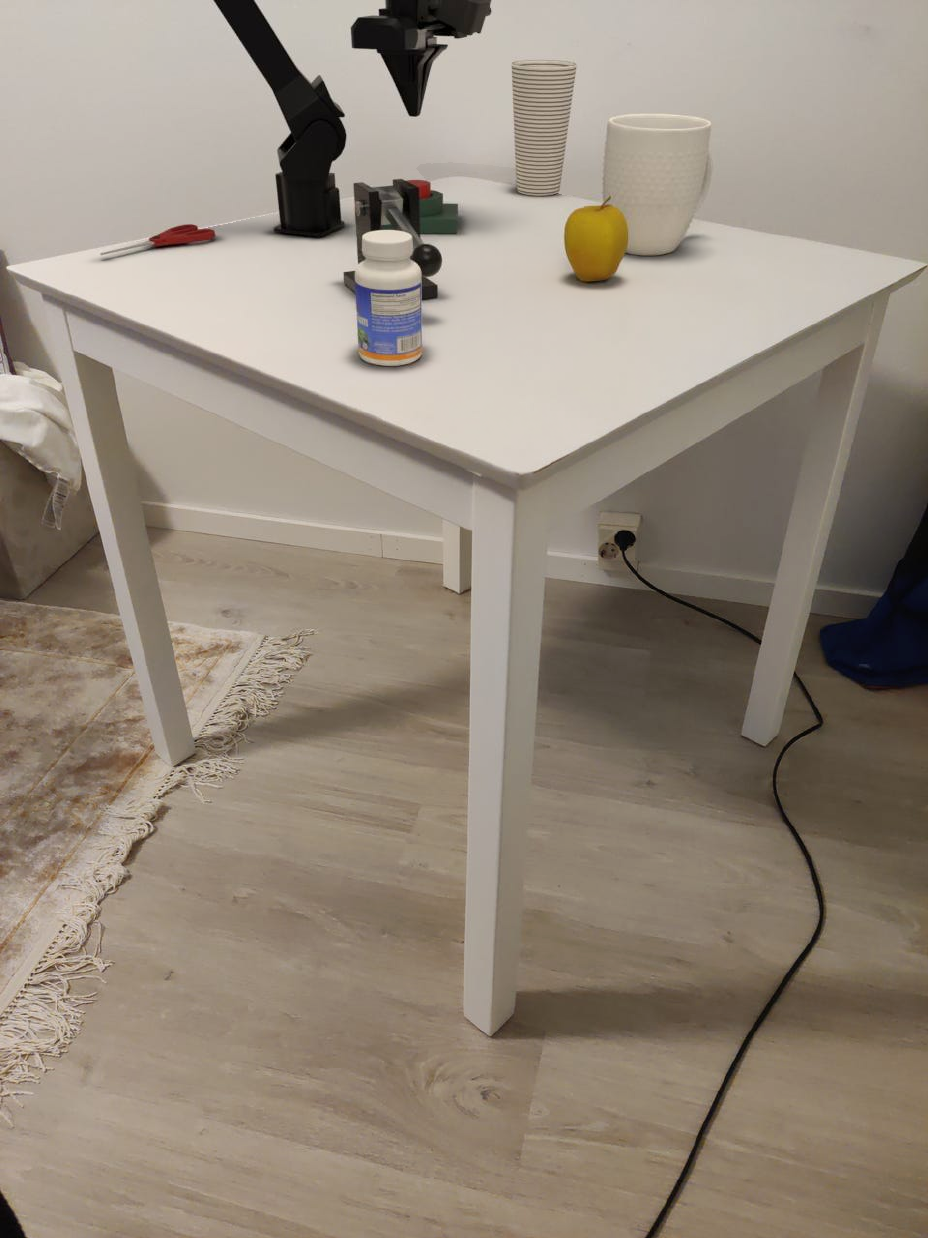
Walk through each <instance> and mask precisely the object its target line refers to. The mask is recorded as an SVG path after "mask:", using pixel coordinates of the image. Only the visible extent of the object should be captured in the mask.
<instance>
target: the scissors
mask: <svg viewBox="0 0 928 1238" xmlns="http://www.w3.org/2000/svg"><path fill="white" fill-rule="evenodd" d="M214 238H216V231H215V230H214V229H213V228H212V229H211V228H198V225H196V224H193V223H192V224H191V223H189V224H188V223H187V224H181V225H176V226H174V227H170V228H169V229H166V230H165V231H162V232H160V233H158V234H155V235H153V236H151V237H149V238H148V240H146V241H144V242H139V243H136V244H133V245H129V246H124V247H120V248H117V249H112V250H108V251H103V252H100V254H99V255H100V256H104V255H109V254H113V253H117V252H121V251H126V250H131V249H135V248H136V249H137V248H141V247H145V246H152V247H156V248H157V247H161V246H169V245H178V244H186V243H196V242H203V241H209V240H212V239H214Z"/></svg>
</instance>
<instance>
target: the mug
mask: <svg viewBox="0 0 928 1238" xmlns="http://www.w3.org/2000/svg"><path fill="white" fill-rule="evenodd" d="M606 126H607V127H606V135H605V136H606V137H605V141H604V142H605V143H604V146H605V147H604V156H603V164H602V165H603V170H602V172H603V173H602V174H603V175H602V200H603V203H604V202H605V201H606V200H607V199H608V198H609V197H610V196H611V199H610V200H609V201H608V202H606V203H605V205H613V206H615V207H616V208H618V209H619V210H620V211H621V212H622V213H623V215H624V217H625V220H626V223H627V227H628V245H627V248H626V251H625V254H630V255H634V256H648V257H649V256H652V257H653V256H663V255H666V254H670V253H673V252H675V250H676V249H677V248H678V246H679V245H680V243H682V240H683V239H684V237H685V236H686V235H687V233H688V230H689V228H690V226H691V223H692V221H693V218H694V217H695V214H696V213H697V212H698V211H699V210H700V208H701V206H702V205H703V203H704V202H705V199H706V197H707V194H708V192H709V189H710V186H711V181H712V176H713V158H712V153H711V150H710V140H711V139H710V138H711V131H712V122H711V121H710V120H708V119H706V118H702V117H698V116H692V115H685V114H684V115H682V114H672V113H631V114H621V115H617V116H612V117H610V118H608V120H607V125H606Z"/></svg>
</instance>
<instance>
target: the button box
mask: <svg viewBox="0 0 928 1238" xmlns="http://www.w3.org/2000/svg"><path fill="white" fill-rule="evenodd" d="M419 207H420V234H436V235H437V234H442V235H443V234H445V235H446V234H447V235H455V234H457V229H458V221H459V203H444V194H443V192H440V191H437V190H434V189H431V197H428V198H421V199H419ZM380 229H381V230H394V228H393V227H392V225H382V226H381V225H380Z"/></svg>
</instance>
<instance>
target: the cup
mask: <svg viewBox="0 0 928 1238" xmlns="http://www.w3.org/2000/svg"><path fill="white" fill-rule="evenodd" d="M577 66H578V65H577V63H576V62H572V61H567V60H566V61H565V60H556V59H555V60H554V59H553V60H552V59H551V60H550V59H527V60H526V59H525V60H518V61H517V60H516V61H513V62H511V84H512V86H511V87H512V108H513V109H512V111H513V135H514V136H513V137H514V157H515V158H514V163H515V183H516V186H515V187H516V192H517V193H520V194H521V195H522V194H523V195H526V196H536V197H544V196H545V197H546V196H552V195H556V194H558V193H559V192H560V189H561V183H562V175H563V169H564V168H563V167H564V160H565V154H566V145H567V139H568V132H569V131H568V130H569V126H570V125H569V123H570V118H571V117H570V116H571V109H572V103H573V102H572V101H573V94H574V87H575V81H576V74H577Z"/></svg>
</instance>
